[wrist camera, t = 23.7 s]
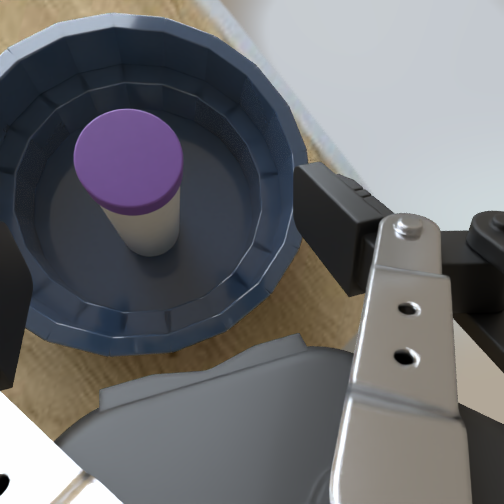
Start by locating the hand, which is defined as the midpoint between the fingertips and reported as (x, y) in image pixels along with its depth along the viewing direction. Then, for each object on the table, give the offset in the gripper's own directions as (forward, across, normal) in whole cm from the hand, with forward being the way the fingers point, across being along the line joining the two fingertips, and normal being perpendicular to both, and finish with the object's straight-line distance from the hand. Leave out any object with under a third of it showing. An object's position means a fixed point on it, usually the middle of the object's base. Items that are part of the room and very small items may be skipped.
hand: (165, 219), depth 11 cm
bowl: (+11, 0, +6) cm, 12 cm away
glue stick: (+10, +1, +6) cm, 11 cm away
